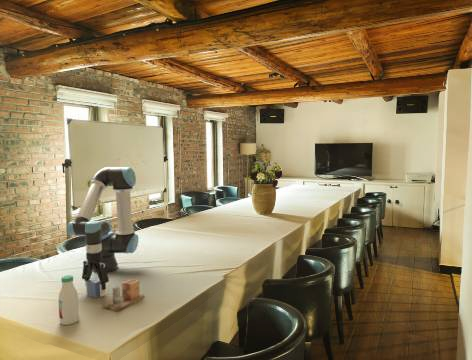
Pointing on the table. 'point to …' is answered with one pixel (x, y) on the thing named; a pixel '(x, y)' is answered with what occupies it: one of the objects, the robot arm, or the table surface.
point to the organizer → (124, 296)
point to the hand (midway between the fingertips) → (95, 294)
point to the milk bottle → (68, 302)
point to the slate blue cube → (93, 288)
